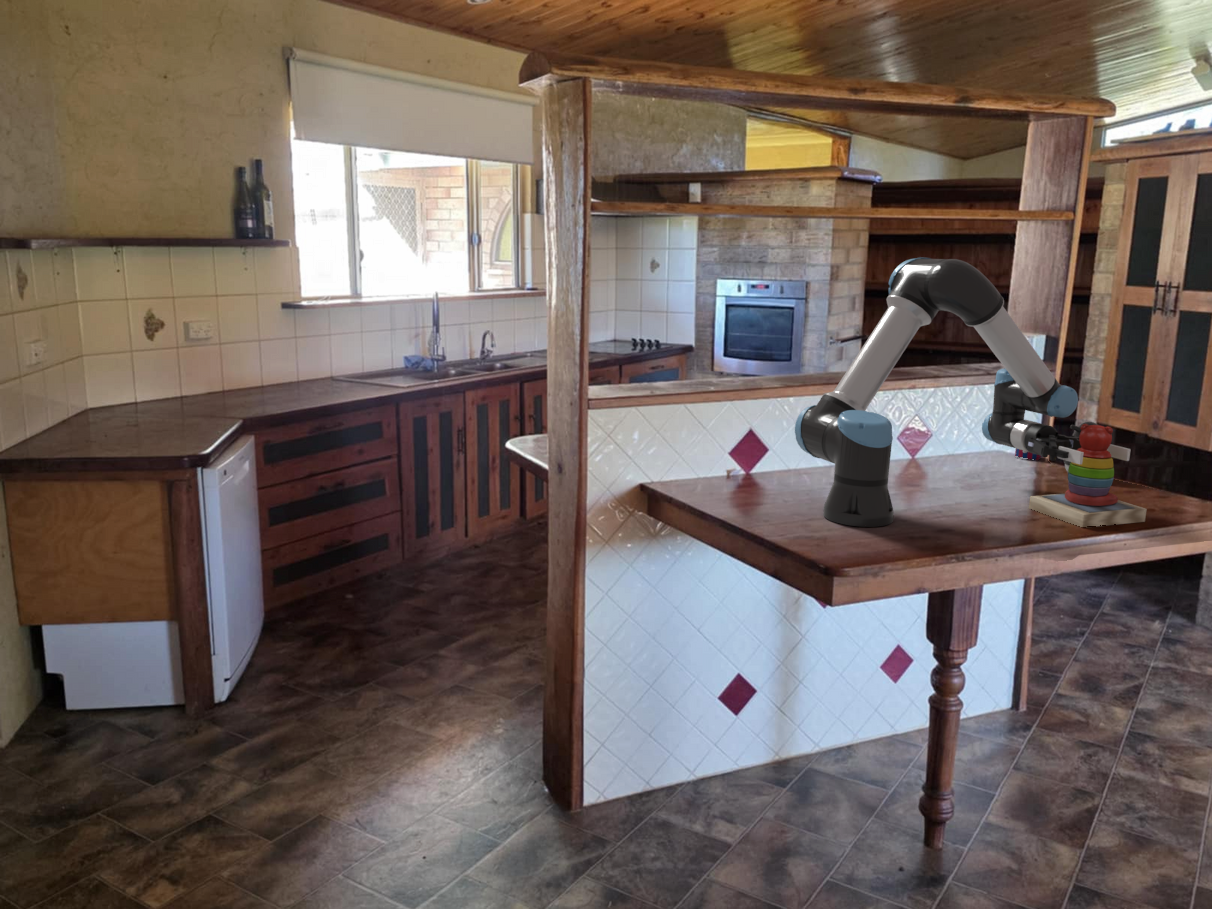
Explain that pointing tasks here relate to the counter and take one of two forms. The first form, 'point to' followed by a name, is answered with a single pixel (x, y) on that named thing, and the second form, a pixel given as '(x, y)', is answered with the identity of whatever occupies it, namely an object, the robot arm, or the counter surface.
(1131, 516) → the plinth
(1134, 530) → the counter surface
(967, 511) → the counter surface
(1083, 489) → the stacking bear
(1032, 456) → the mug
